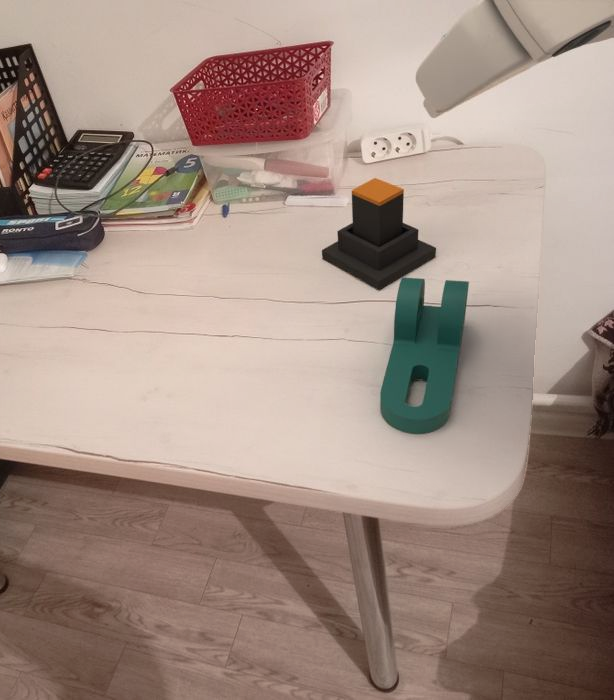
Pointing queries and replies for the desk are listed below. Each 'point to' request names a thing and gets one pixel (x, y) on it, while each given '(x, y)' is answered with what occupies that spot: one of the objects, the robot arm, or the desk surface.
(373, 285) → the square base socket
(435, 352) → the bracket
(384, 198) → the upright block
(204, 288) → the desk surface
